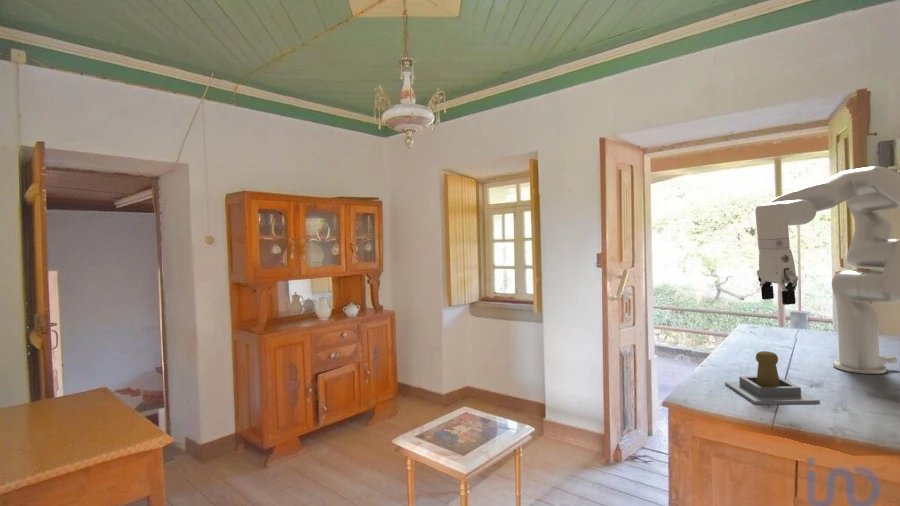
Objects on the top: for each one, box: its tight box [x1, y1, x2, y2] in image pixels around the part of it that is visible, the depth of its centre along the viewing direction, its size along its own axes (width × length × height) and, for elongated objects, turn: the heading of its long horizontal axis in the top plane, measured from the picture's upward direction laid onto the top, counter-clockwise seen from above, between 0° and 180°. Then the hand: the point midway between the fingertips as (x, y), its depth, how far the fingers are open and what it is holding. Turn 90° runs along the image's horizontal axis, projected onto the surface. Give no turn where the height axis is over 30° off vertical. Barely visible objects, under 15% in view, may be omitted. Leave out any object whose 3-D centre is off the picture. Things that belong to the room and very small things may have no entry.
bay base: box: [724, 375, 821, 405], centre depth 124 cm, size 16×16×3 cm
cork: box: [755, 350, 780, 387], centre depth 125 cm, size 6×6×11 cm
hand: (778, 301), depth 130 cm, fingers open, 9 cm apart
